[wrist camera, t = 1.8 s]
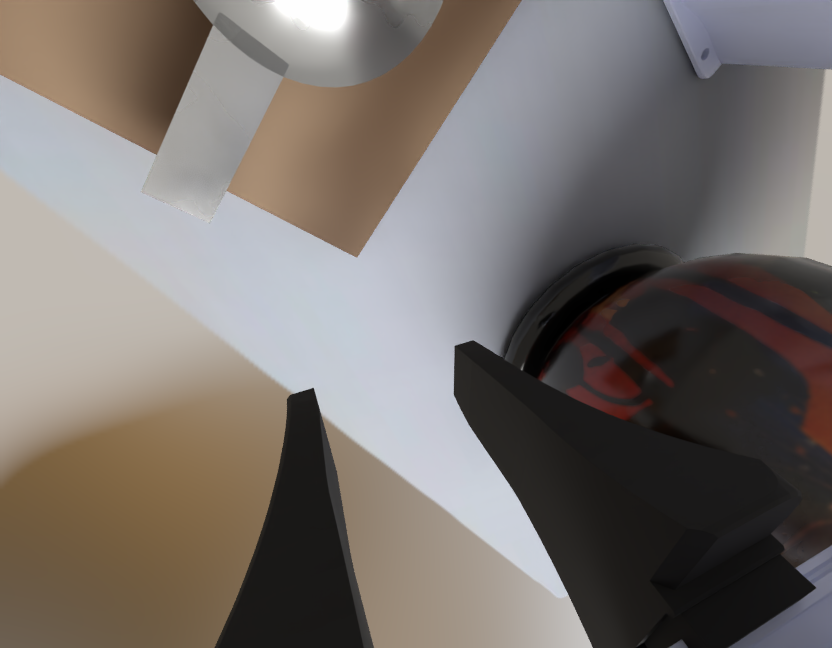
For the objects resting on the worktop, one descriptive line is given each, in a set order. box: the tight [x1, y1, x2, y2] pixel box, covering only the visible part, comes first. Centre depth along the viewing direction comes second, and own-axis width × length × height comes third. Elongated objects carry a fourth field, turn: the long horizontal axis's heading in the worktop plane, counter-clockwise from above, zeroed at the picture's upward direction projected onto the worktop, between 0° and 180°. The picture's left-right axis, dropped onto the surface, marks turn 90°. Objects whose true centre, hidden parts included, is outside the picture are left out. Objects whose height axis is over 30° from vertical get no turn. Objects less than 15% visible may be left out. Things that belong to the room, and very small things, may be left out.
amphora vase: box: [504, 244, 832, 568], centre depth 21 cm, size 22×22×28 cm
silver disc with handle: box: [141, 0, 443, 223], centre depth 11 cm, size 13×8×2 cm, turn 142°
